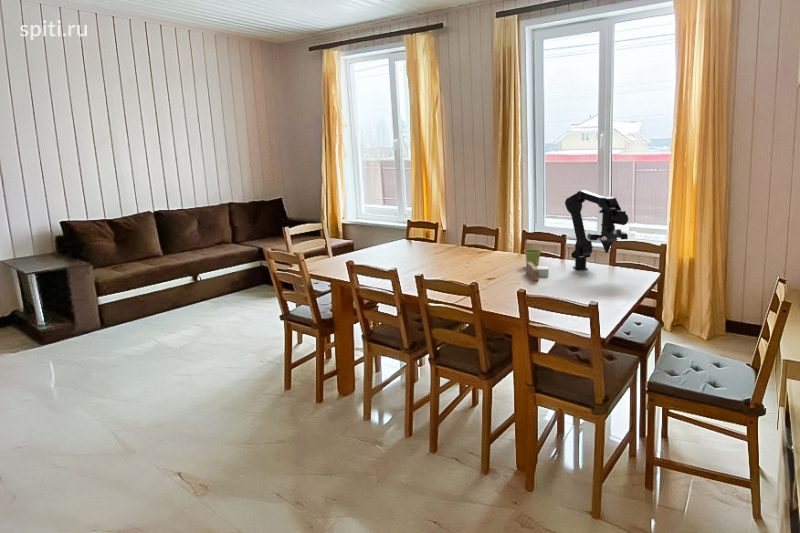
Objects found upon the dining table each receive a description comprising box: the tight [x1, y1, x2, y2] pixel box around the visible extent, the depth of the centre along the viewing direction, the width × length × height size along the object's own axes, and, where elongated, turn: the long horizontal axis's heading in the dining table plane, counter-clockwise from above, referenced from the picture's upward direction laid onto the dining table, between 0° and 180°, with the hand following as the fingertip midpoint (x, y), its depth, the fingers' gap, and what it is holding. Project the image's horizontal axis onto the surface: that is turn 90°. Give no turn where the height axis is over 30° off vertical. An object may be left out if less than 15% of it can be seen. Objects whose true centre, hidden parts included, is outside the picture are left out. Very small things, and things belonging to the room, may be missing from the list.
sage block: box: [537, 265, 550, 277], centre depth 299 cm, size 7×6×4 cm
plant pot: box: [523, 249, 542, 267], centre depth 317 cm, size 9×9×9 cm
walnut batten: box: [526, 262, 540, 282], centre depth 295 cm, size 18×2×6 cm, turn 179°
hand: (606, 252), depth 290 cm, fingers closed
